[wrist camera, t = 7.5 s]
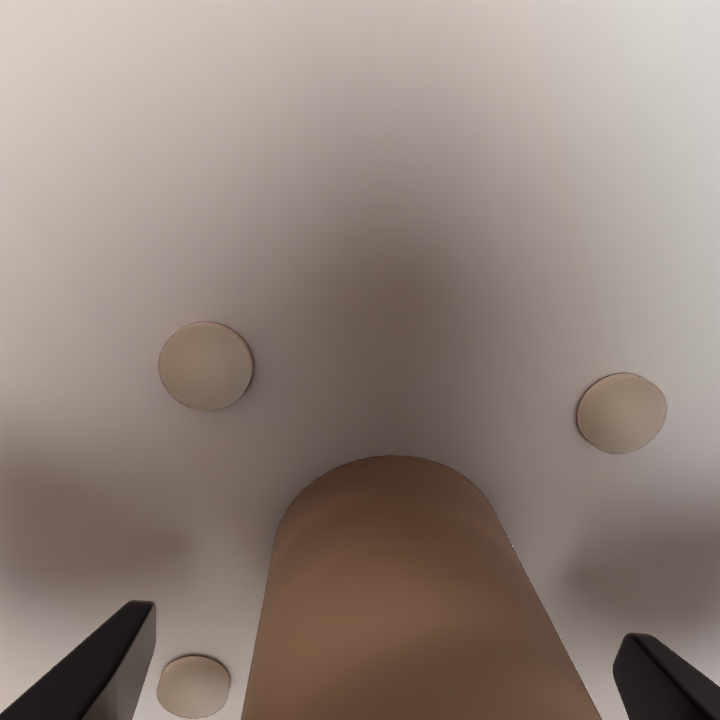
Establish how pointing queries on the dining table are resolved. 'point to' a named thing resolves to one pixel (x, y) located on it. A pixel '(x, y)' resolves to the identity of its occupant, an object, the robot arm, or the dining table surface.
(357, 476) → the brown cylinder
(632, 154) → the dining table surface
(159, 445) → the dining table surface
